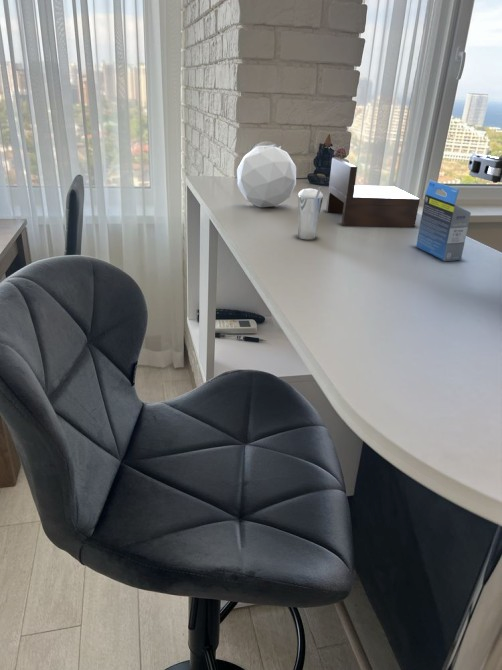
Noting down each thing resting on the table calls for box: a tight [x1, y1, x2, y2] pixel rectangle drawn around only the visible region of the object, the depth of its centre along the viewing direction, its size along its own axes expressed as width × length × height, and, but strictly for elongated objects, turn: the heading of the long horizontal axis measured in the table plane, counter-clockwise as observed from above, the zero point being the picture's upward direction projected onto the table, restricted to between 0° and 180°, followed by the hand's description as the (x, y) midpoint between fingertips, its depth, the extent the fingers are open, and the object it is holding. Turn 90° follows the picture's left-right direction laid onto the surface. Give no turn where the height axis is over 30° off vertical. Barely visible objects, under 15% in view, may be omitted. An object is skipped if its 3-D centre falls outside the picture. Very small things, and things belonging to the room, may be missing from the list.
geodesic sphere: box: [236, 143, 297, 208], centre depth 118 cm, size 15×14×14 cm
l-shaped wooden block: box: [325, 157, 421, 228], centre depth 111 cm, size 16×14×12 cm
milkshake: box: [297, 186, 324, 241], centre depth 94 cm, size 4×5×10 cm
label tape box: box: [415, 179, 472, 262], centre depth 89 cm, size 9×4×12 cm, turn 16°
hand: (499, 162), depth 73 cm, fingers open, 8 cm apart
